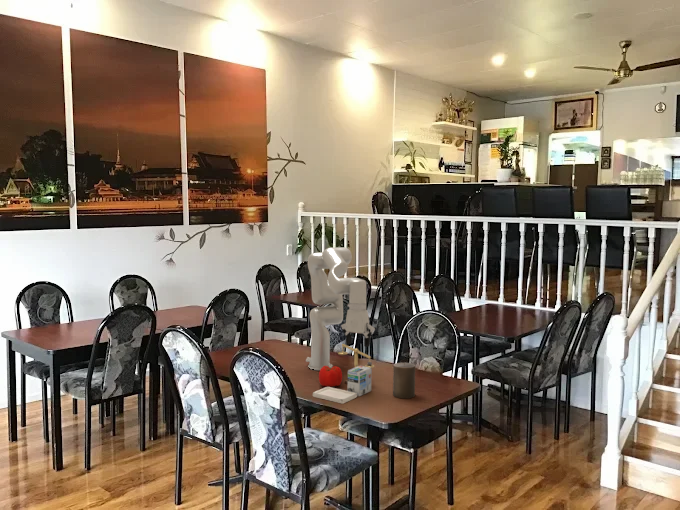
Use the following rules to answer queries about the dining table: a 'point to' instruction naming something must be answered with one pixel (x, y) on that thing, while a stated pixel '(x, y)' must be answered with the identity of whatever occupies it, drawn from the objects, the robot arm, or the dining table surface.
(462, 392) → the dining table surface
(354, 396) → the platter
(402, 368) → the pillar candle
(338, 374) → the tomato
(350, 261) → the robot arm
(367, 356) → the balance
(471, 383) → the dining table surface
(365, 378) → the light bulb box
